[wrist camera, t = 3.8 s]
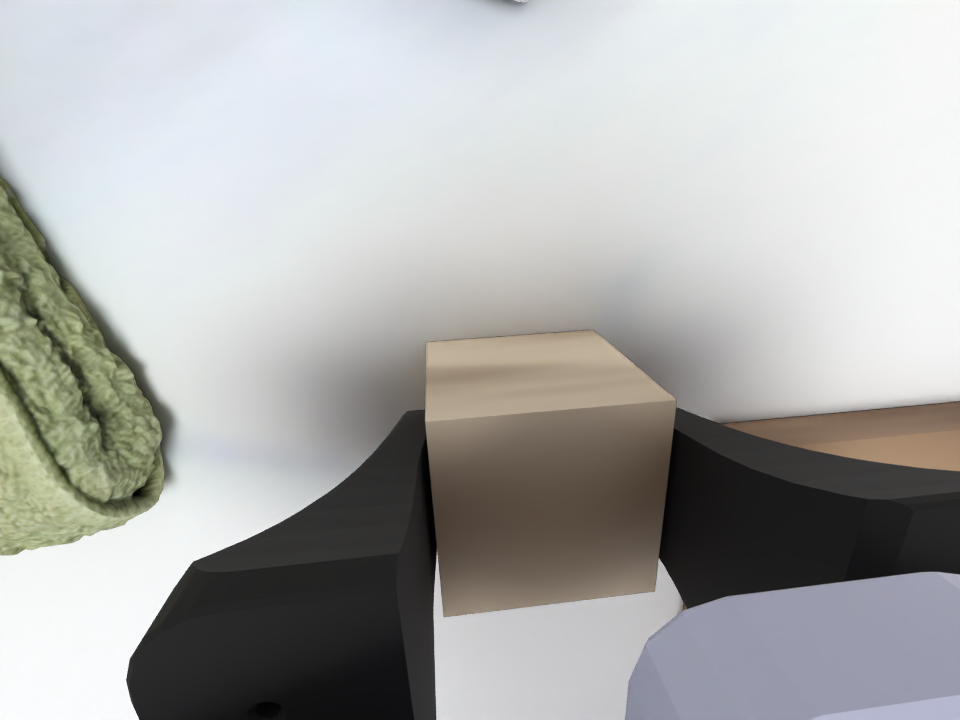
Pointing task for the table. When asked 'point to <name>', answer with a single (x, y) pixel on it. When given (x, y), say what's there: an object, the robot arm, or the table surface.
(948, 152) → the table surface
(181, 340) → the table surface
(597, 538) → the beech brick
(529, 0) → the photo printer
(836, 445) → the tower base
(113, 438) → the washcloth
